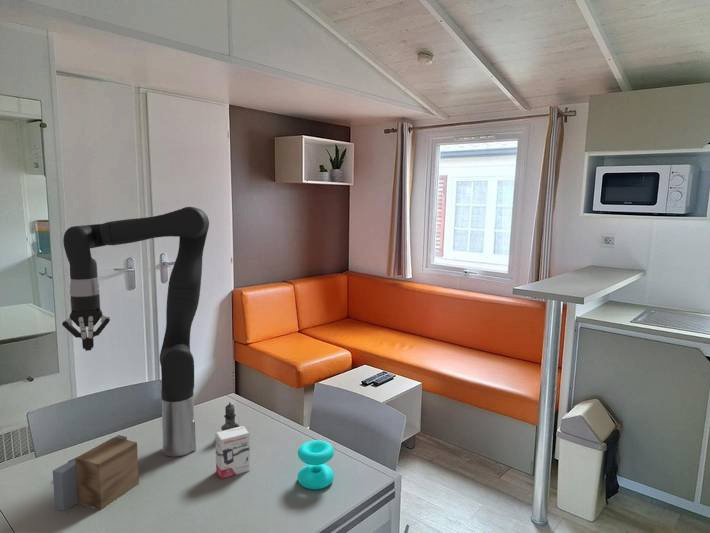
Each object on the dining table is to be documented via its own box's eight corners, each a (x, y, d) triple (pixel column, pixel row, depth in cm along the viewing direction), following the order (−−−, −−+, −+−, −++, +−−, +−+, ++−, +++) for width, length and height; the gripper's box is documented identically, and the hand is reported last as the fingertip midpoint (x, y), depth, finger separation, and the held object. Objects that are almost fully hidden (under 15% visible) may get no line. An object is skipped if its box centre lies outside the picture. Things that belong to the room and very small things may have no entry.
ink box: (221, 479, 131) (220, 439, 129) (215, 471, 135) (214, 432, 133) (250, 470, 135) (250, 431, 134) (244, 463, 139) (243, 425, 138)
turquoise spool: (317, 434, 137) (341, 447, 130) (317, 467, 138) (341, 481, 131) (290, 446, 130) (314, 460, 123) (290, 481, 131) (314, 496, 124)
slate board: (128, 470, 135) (126, 436, 134) (63, 511, 116) (61, 473, 115) (120, 467, 136) (118, 434, 135) (55, 508, 117) (52, 470, 116)
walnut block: (138, 484, 128) (136, 442, 127) (101, 510, 117) (99, 464, 116) (116, 478, 131) (114, 437, 129) (77, 502, 120) (75, 458, 118)
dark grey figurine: (219, 434, 157) (219, 400, 155) (237, 431, 159) (237, 397, 158) (222, 442, 151) (222, 407, 150) (241, 439, 154) (240, 404, 152)
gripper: (110, 289, 146) (113, 344, 148) (60, 292, 140) (64, 349, 142) (109, 293, 139) (112, 350, 141) (57, 296, 134) (61, 356, 136)
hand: (88, 349), depth 142 cm, fingers closed
